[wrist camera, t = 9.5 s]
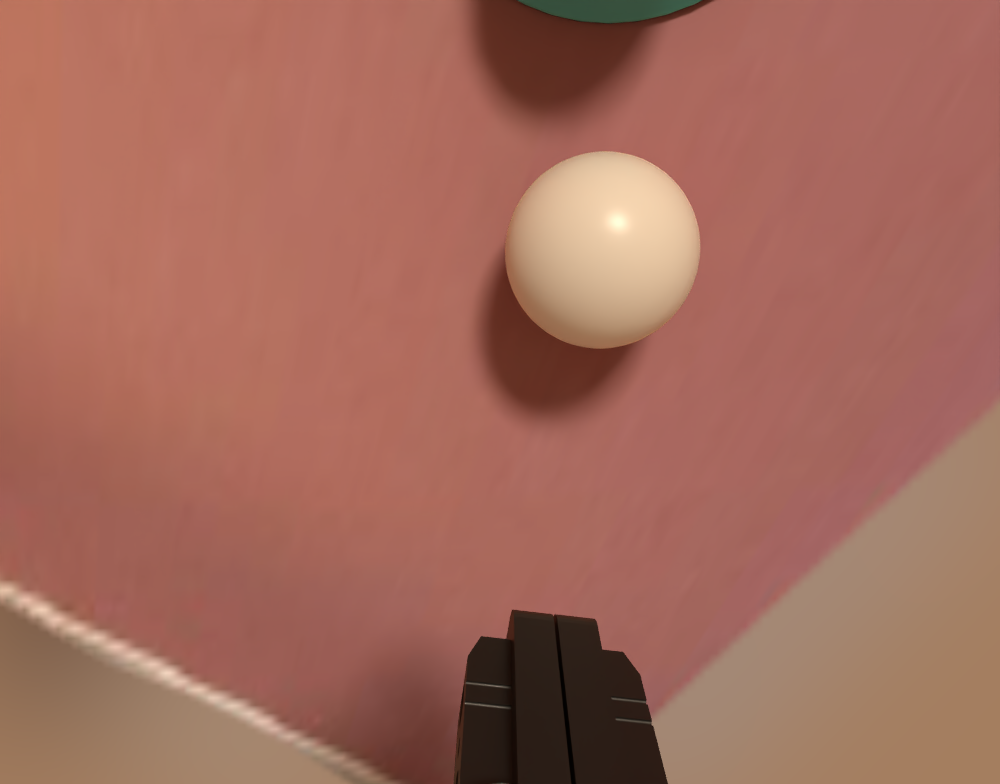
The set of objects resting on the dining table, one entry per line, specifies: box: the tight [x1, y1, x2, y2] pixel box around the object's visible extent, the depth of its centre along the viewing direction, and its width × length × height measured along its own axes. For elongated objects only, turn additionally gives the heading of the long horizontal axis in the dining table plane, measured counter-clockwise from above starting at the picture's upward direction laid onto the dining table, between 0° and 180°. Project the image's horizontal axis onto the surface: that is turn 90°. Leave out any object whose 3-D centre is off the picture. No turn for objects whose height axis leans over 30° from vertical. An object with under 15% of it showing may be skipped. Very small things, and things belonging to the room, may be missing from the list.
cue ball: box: [505, 151, 700, 349], centre depth 22 cm, size 6×6×6 cm
